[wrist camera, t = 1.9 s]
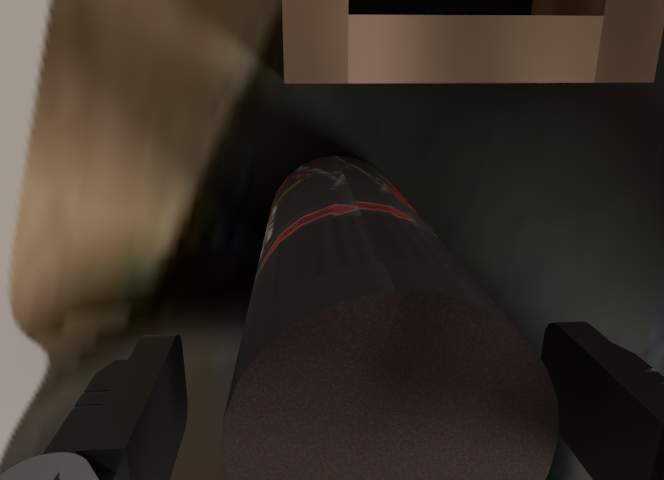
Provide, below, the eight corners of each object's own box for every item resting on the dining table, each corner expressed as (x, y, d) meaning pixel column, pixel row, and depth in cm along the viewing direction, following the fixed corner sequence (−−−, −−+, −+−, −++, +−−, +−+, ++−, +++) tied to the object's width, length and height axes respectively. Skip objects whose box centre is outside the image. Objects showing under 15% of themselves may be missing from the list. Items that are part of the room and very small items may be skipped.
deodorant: (266, 157, 22) (205, 298, 8) (402, 153, 23) (579, 283, 8) (273, 284, 24) (234, 586, 10) (400, 279, 24) (541, 564, 10)
